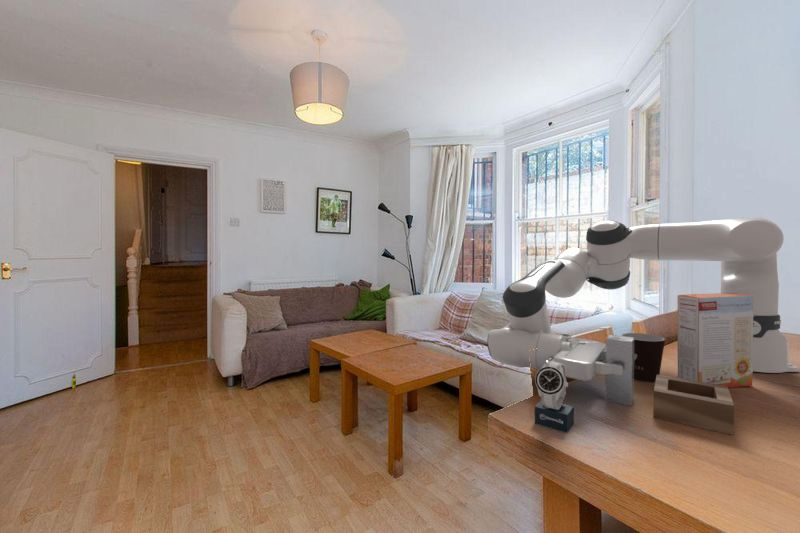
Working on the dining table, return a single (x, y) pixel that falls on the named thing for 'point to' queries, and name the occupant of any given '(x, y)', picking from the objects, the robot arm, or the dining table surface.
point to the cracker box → (716, 338)
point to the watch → (553, 398)
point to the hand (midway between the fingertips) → (625, 364)
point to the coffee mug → (647, 355)
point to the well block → (694, 403)
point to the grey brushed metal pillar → (623, 353)
